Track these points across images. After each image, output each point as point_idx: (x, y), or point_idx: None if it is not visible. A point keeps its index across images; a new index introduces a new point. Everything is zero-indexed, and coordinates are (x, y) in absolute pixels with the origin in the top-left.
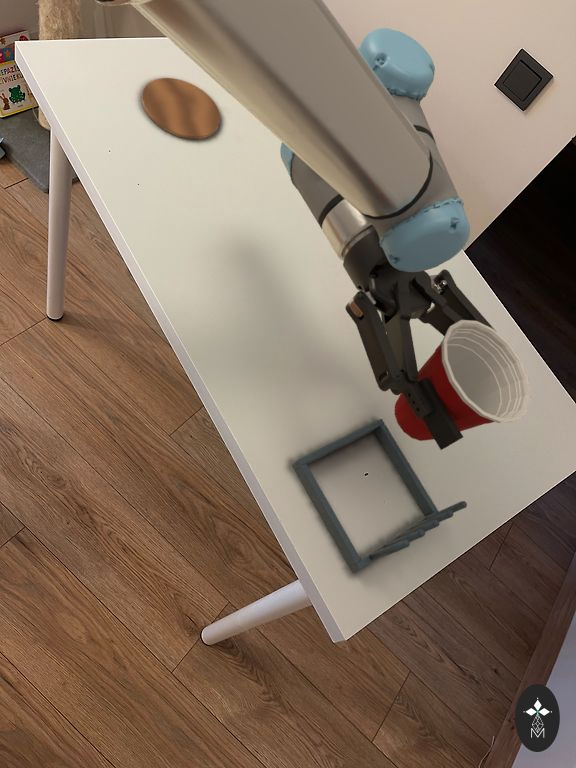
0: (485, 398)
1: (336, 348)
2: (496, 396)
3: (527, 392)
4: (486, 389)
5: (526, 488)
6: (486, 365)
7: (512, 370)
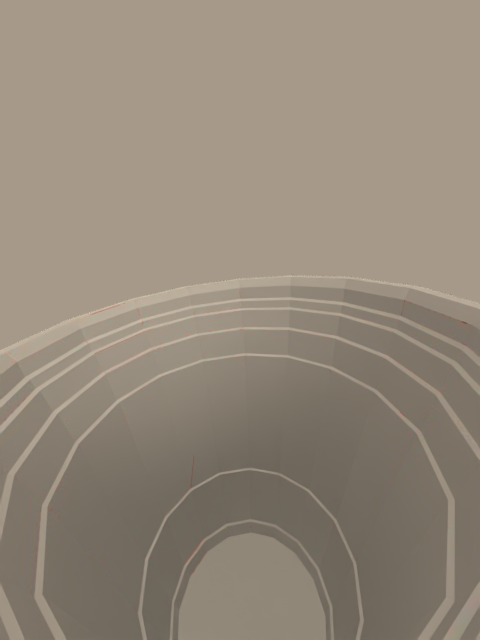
0: (145, 441)
1: None
2: (142, 401)
3: (125, 303)
4: (124, 450)
5: None
6: (62, 484)
7: (54, 371)
